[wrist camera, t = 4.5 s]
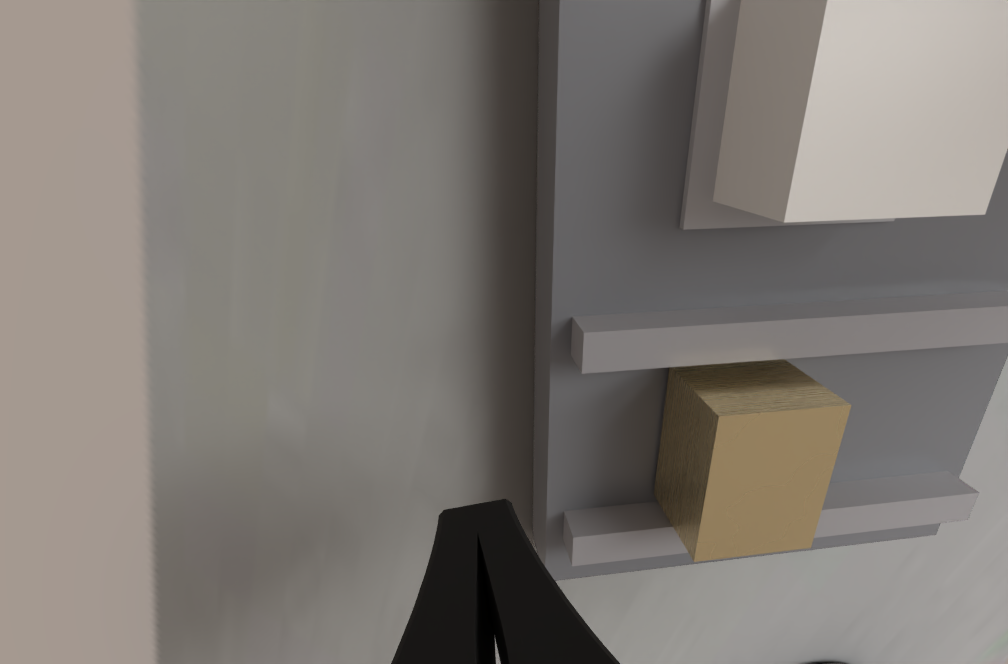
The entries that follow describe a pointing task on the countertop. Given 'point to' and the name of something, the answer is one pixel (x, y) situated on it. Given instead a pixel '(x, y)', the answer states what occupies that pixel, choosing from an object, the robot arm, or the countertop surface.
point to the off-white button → (865, 109)
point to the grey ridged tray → (729, 299)
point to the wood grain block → (746, 456)
